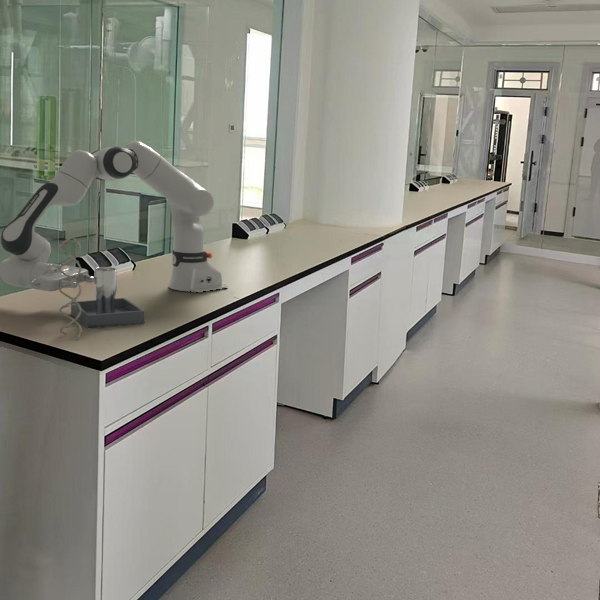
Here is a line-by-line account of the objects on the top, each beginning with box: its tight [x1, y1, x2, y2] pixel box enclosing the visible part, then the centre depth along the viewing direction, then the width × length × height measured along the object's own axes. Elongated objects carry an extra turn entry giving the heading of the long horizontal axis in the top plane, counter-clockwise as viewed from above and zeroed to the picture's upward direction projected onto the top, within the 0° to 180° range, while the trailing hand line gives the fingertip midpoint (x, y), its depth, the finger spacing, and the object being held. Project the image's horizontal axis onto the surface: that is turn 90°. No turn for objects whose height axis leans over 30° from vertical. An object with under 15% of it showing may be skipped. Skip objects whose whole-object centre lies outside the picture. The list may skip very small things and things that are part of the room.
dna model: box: [58, 231, 83, 341], centre depth 204 cm, size 7×6×30 cm
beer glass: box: [93, 266, 118, 314], centre depth 226 cm, size 7×7×15 cm
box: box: [70, 297, 145, 329], centre depth 228 cm, size 18×18×4 cm
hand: (84, 282), depth 228 cm, fingers open, 8 cm apart
